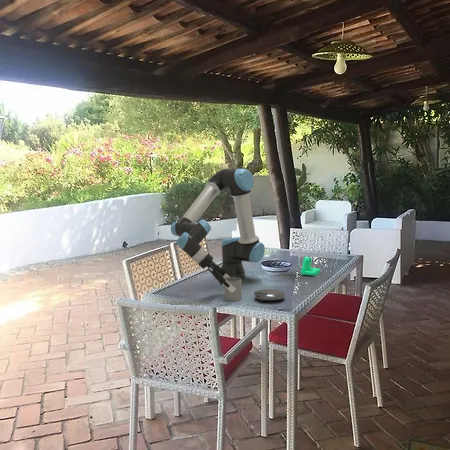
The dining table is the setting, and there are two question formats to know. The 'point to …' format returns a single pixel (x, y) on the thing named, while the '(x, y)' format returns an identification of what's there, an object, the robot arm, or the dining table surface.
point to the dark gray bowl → (269, 295)
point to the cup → (237, 293)
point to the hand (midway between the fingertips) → (233, 287)
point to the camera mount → (309, 267)
